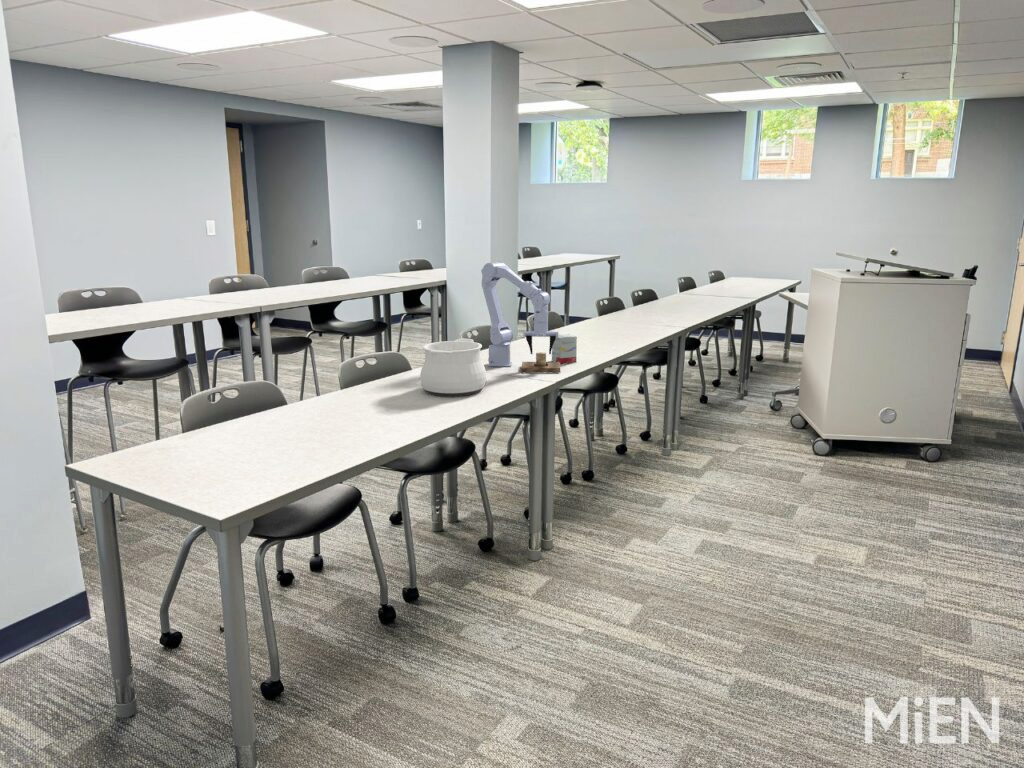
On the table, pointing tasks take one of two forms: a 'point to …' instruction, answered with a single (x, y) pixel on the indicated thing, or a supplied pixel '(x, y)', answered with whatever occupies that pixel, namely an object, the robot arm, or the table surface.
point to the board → (540, 367)
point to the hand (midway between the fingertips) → (540, 353)
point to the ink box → (564, 349)
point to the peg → (540, 359)
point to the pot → (453, 368)
